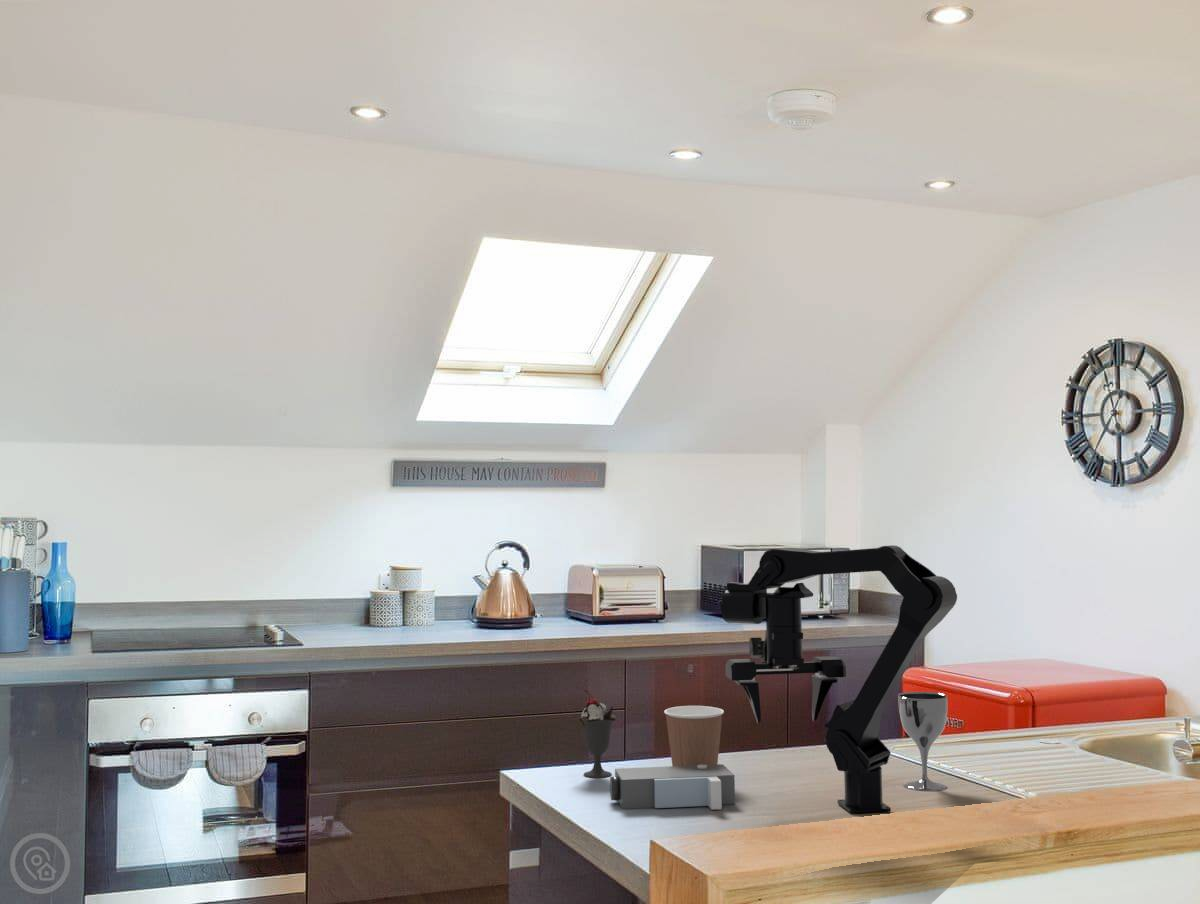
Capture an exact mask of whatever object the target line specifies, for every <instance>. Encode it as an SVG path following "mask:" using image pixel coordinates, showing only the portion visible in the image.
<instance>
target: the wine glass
mask: <svg viewBox="0 0 1200 904" xmlns="http://www.w3.org/2000/svg"><path fill="white" fill-rule="evenodd" d="M897 699H898V700H897V701H898V711H899V718H900V722H901V725H902V728H903V730H904V731H905V733H906V734H907V735H908V736H909V737H910V738H911V740H912V741H913V742H914V743H915V745H916V747H917V748H918V750H919V753H920V759H921V767H922V771H921V772H922V774H921V775H922V777H921V778H919V779H916V780H910V781H906V782H903V784H902V786H903V787H904V788H906V789H910V790H914V791H921V792H923V791H924V792H936V791H937V792H939V791H943V790H946V789H947V788H948V785H947V784H946V783H943V782H939V781H938V782H937V781H933V780H931V779H930V778H929V777H928V760H929V758H928V757H929V752H930V749H931V747H932V745H934V743H935V741H936V740H937V739H938V738H939V737H940V735H941V734H942V733H943V731H945V727H946V723H947V717H948V695H947V694H945V693H940V692H934V691H933V692H932V691H906V692H900V693H898V697H897Z"/></svg>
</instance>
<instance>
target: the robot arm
mask: <svg viewBox="0 0 1200 904" xmlns="http://www.w3.org/2000/svg"><path fill="white" fill-rule="evenodd" d="M866 572H880V573H881V574H883V576H885V577H886V579H887V581H888V582H889V583H890V585H891V586H892V587H893V588H894V590H895V591H896V592H897V593H899V594H900V595H901V596H902V599H901V603H900V605H899V613H898V622H897V624H896V627H895V629H894V630H893V633H892V634H891V636H890V638H889V640H888V642H886V645H885V647H884V648H883V650H882V652H881V654H880V655H879V657H878V659H877V661H876V662H875V665H874V666H873V668H872V670H871V671H870V672H869V675H868V676H867V679H865V682H864V683H863V686H862V687H861V689H860V690H859V692H858V694H857V696H856V697H855V699H854V700H853V699H851V700H849V701H845V702H842V703H839V704H836V706H835V708H834V710H833V712H832V715H831V718H830V720H829V721H828V722H827V723H826V724H824V725H823V726H824V728H827V729H826V731H825V734H824V741H825V745H826V747H827V749H828V751H829V753H830V754H832V757H833V760H834V762H835V765H836V768H837V771H839V772H843V773H844V775H843V776H844V777H843V778H844V782H843V783H844V799H837V804H838V805H840V806H841V807H842V808H844V809H845V810H847V812H849V813H851V814H852V813H853V814H856V813H857V814H858V813H873V812H874V813H878V812H879V813H880V812H891V810H892V809H891V808H892V807H890V806H889V805H887V804H886V803H884V801H883V769H882V766H884V765H887V764H888V762H889V760H890V756H891V753H892V752H891V750H890V749H889V748H888V747H887V746H886V745H885V744H884V743H883V742H882V740H881V739H880V738H879V736H878V735H879V732H880V729H881V724H882V723H881V722H882V715H883V711H884V709H885V707H886V705H887V704H888V701H889V700H890V698H891V696H892V695H893V693H894V691H895V689H896V688H897V686H898V684H899V682H900V681H901V679H902V677H903V675H904V674H905V672H906V670H907V668H908V667H909V665H910V663H911V662H912V660H913V658H914V656H915V654H916V653H917V651H918V650H919V647H920V646H921V645H922V642H923V641H924V638H926V636H927V635H928V634H929V633H930V632H931V631H932V630H934V628H935V627H936V626H938V625H939V624H940V623H941V622H942V620H944V618H945V617H946V616H947V615H948V614H949V612H950V611H952V609H953V608H954V607H955V605H956V604H957V600H958V594H957V591H956V588H955V585H954V584H953V583H952V581H950V580H949V579H948V578H946V577H945V576H944V577H943V576H940V575H936V573H934V572H933V571H932V570H931V569H930V568H928V567H926V566H925V565H923V564H922V563H920V561H918V560H916V559H915V558H913V557H912V556H910V555H909V554H908V553H907V552H906V551H905V550H904V549H903V548H902V547H901V546H898V545H893V544H892V545H883V546H878V547H874V548H860V549H849V550H847V549H845V550H834V551H833V550H832V551H817V550H816V551H815V550H810V549H803V548H796V547H783V548H782V547H781V548H770V549H767V550H766V551H763V554H762V555H761V557H760V560H759V563H758V568H757V569H756V571H755V572H754V574H753V576H752V577H751V578H750V580H749V582H748V583H742V582H737V581H732V582H727V583H726V590H725V592H724V594H723V595H722V600H721V602H720V613H721V617H722V619H723V620H724V622H726V623H729V624H746V625H747V624H748V625H750V624H752V625H759V624H761V623H763V621H764V619H765V623H766V624H765V626H766V627H765V635H764V637H765V638H764V640H763V639H762V637H761V636H759V637H750V638H749V640H748V643H749V644H748V648H749V651H748V652H749V657H750V658H735V659H733V658H731V659H730V658H729V659H728V660H727V662H725V677H726V678H728V679H729V680H731V681H733V682H735V683H736V684H737V685H739V686H742V688H743V690H744V692H745V694H746V696H747V698H748V700H749V703H750V706H751V709H752V710H751V711H752V712H753V715H754V718H755V721H756V723H757V724H761V722H762V720H761V719H762V711H761V710H762V707H761V697H760V688H759V681H757V680H756V679H755V677H756V676H759V675H762V676H764V675H788V674H789V675H791V674H792V675H793V674H796V675H797V674H812V675H811V681H812V682H811V683H812V696H811V697H812V698H811V719H812V721H813V722H817V721H818V717H819V715H820V711H822V710H821V709H822V708H823V704H824V702H825V699H826V697H827V695H828V693H829V692H830V690H831V687H832V686H833V684H836V683H839V679H838V678H846V677H847V670H846V669H847V667H846V663H845V661H843V659H842V658H840V657H836V656H834V655H831V656H829V655H828V656H827V655H826V656H813V659H812V661H805V658H804V657H803V639H804V632H803V629H802V628H803V627H802V599H807V598H812V597H813V596H814V593H813V591H811V590H810V589H809V588H808V587H807V586H806V585H805V583H804V582H800V581H803V580H807V579H811V578H813V577H817V576H821V575H830V574H831V575H835V574H836V575H837V574H850V573H851V574H853V573H866ZM796 582H798V583H796ZM788 583H790V584H791V583H795V585H794V586H792V587H791V586H788V587H787V586H784V585H785V584H788ZM771 589H775V590H774V592H767V591H768V590H771ZM752 659H760V662H759V663H757V662H755V661H753V660H752ZM774 667H775V668H774Z"/></svg>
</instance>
